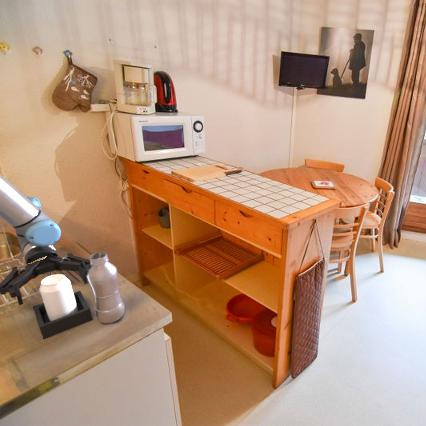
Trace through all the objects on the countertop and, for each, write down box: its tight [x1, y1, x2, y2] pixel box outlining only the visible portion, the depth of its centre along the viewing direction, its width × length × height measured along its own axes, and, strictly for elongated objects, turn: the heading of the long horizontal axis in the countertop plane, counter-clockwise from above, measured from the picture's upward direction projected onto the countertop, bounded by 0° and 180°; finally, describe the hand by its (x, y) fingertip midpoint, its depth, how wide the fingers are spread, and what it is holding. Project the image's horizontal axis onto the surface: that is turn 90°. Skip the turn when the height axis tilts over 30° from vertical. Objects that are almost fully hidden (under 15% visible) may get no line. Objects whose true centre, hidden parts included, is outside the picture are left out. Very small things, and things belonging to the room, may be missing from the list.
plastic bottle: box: [86, 251, 126, 324], centre depth 84 cm, size 6×7×20 cm
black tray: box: [32, 290, 94, 340], centre depth 85 cm, size 10×10×4 cm
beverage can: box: [39, 273, 78, 321], centre depth 83 cm, size 6×6×12 cm
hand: (54, 289), depth 83 cm, fingers open, 13 cm apart
